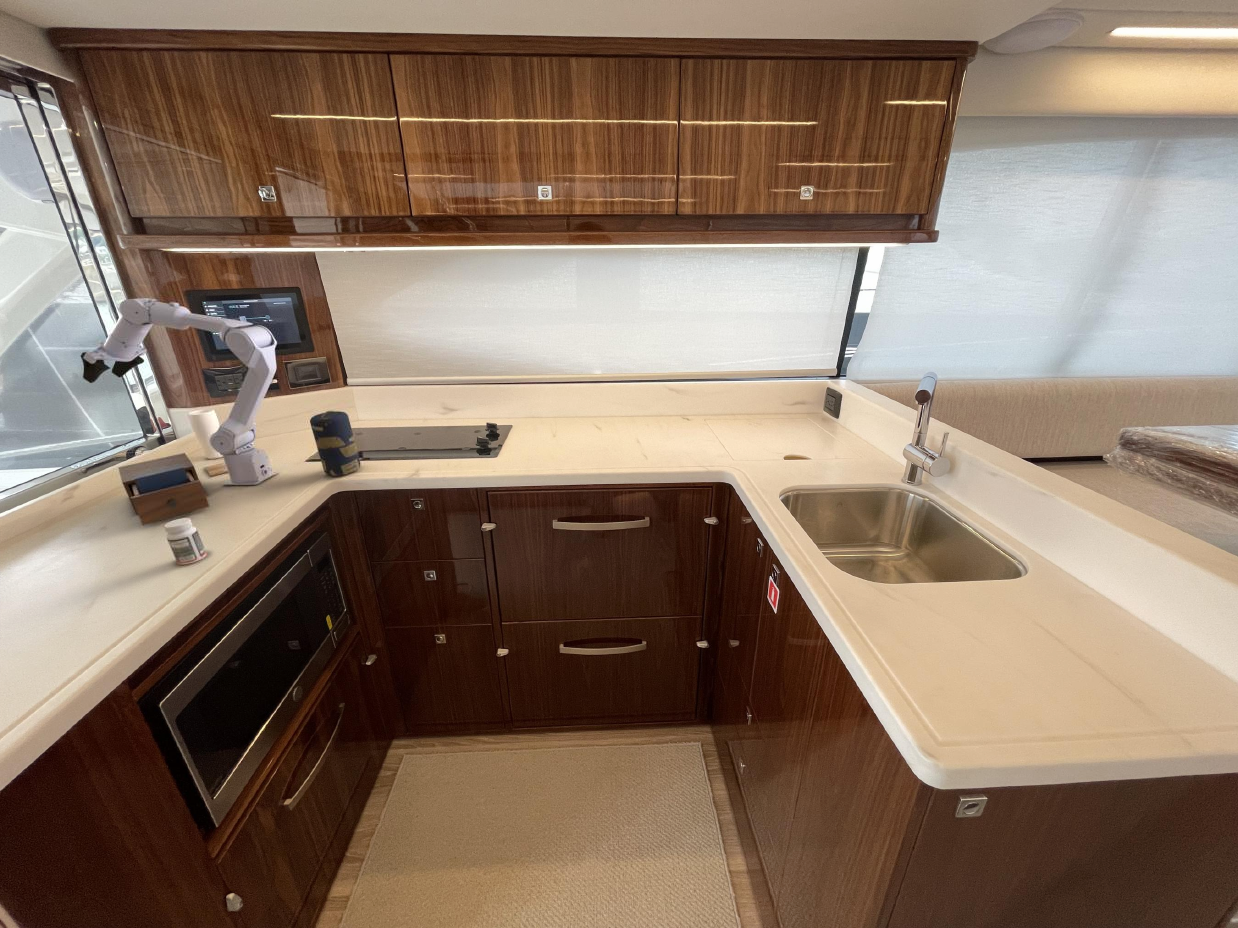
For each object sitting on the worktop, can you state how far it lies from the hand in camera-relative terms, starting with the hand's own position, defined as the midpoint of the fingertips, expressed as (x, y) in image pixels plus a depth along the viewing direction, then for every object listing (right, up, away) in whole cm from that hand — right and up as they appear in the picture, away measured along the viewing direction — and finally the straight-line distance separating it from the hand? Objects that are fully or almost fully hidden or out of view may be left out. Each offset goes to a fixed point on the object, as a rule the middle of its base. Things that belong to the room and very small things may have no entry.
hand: (102, 377), depth 129 cm
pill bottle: (+47, -42, -27) cm, 69 cm away
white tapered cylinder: (+4, -20, +32) cm, 38 cm away
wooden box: (+14, -31, +3) cm, 34 cm away
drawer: (+24, -33, -6) cm, 41 cm away
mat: (+15, -24, +22) cm, 36 cm away
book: (+24, -32, -6) cm, 40 cm away
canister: (+54, -25, +15) cm, 61 cm away
